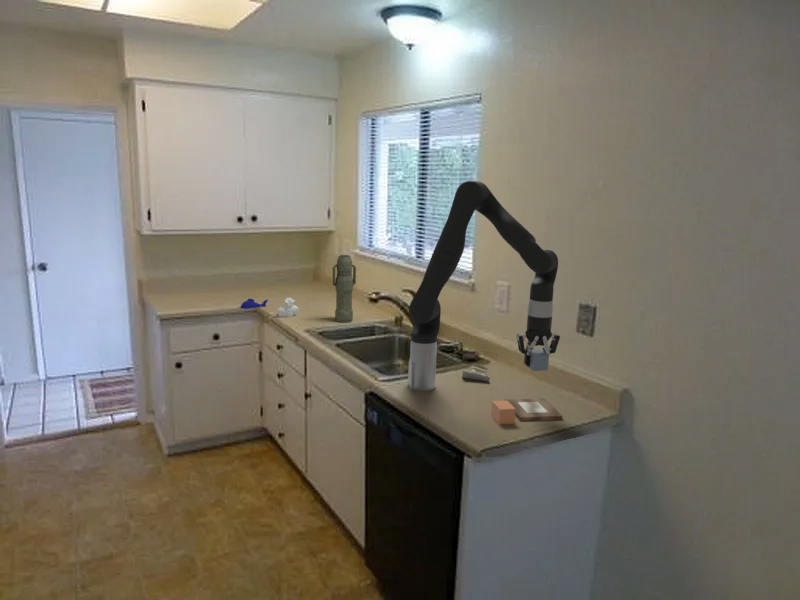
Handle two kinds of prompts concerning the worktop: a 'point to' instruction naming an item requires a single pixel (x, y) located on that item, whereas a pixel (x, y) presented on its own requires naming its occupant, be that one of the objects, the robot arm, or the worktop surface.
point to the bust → (288, 308)
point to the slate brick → (538, 360)
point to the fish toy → (252, 304)
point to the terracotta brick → (503, 412)
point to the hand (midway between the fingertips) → (535, 365)
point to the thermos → (344, 288)
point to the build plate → (534, 409)
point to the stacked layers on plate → (476, 373)
